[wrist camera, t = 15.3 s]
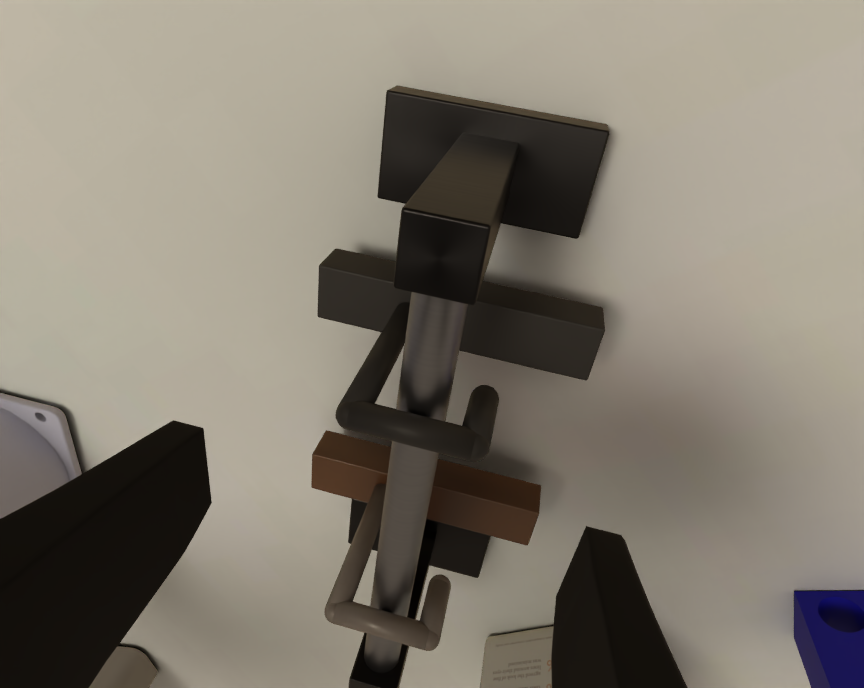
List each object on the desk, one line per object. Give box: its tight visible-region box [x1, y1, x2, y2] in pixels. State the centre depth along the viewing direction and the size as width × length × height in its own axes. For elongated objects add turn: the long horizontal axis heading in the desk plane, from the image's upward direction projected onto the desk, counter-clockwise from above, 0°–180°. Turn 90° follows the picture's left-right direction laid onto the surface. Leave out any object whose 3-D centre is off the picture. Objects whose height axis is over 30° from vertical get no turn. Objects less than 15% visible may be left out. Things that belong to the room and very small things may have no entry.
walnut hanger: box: [312, 431, 541, 651], centre depth 19 cm, size 8×2×7 cm, turn 82°
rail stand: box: [348, 86, 609, 688], centre depth 18 cm, size 6×19×8 cm, turn 172°
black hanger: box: [318, 249, 605, 462], centre depth 15 cm, size 8×2×7 cm, turn 82°
